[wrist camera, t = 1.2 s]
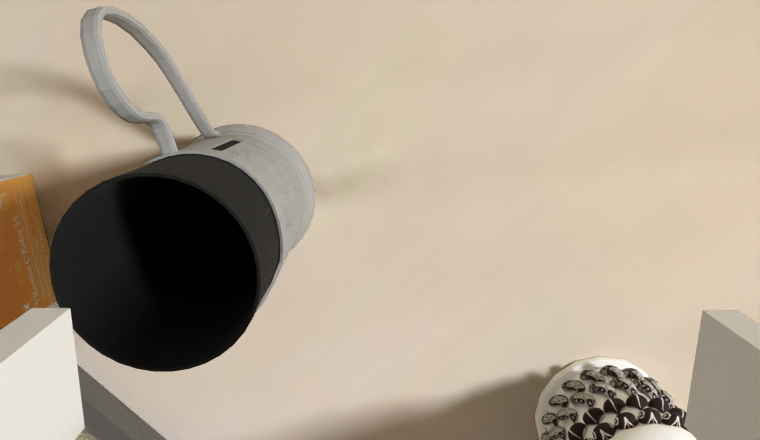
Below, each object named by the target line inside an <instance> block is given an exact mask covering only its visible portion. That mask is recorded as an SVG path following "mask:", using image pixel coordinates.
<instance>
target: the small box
mask: <svg viewBox="0 0 760 440" xmlns="http://www.w3.org/2000/svg"><path fill="white" fill-rule="evenodd" d="M49 263H50V249H49V245H48V241H47V238H46V233H45V229H44V225H43V220H42V216H41V212H40V208H39V203H38V199H37V194H36V190H35V186H34V181H33V176H32V174H31V173H23V174H14V175H4V176H0V330H1V329H3V328H4V327H6V326H7V325H9V324H10V323H11V322H13V321H14V320H16V319H17V318H19V317H20V316H21V315H23V314H24V313H26V312H27V311H29V310H30V309H31V308H46V307H48V306H49V305H50V304H52V303H54V302H55V301H56V298H55V294H54V291H53V288H52V285H51V277H50V269H49Z"/></svg>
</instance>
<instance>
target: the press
mask: <svg viewBox="0 0 760 440" xmlns="http://www.w3.org/2000/svg"><path fill="white" fill-rule="evenodd" d="M77 368H78V376H79V384H80V392H81V401H82V409H83V417H84V425H85V428H84V429H83V430H82V432H81V433H80V434H79V435H78V437H77V438H76V439H75V440H166V439H165V438H163V437H162V436H161V435H160V434H159V433H158V432H156V431H155V430H154V429H153V428H152V427H150V426H149V425H148V424H147V423H146V422H145V421H143V420H142V419H141V418H140V417H139V416H137V415H136V414H135V413H134V412H133V411H131V410H130V409H129V408H128V407H127V406H126V405H124V404H123V403H122V402H121V401H120V400H118V399H117V398H116V397H115V396H114V395H113V394H111V393H110V392H109V391H108V390H107V389H105V388H104V387H103V386H102V385H101V384H100V383H98V382H97V381H96V380H95V379H94V378H92V377H91V376H90V375H89V374H88V373H86V372H85V371H84V370H83V369H82V368H81V367H79V366H78V365H77Z"/></svg>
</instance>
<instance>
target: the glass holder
mask: <svg viewBox="0 0 760 440" xmlns="http://www.w3.org/2000/svg"><path fill="white" fill-rule="evenodd" d="M103 19H104V20H107V21H109V22H112V23H114V24H116V25H118V26H119V27H121V28H122V29H123V30H125V31H126V32H127V33H129V34H130V35H131V36H132V37H133V38H134V39H135V40H136V41H137V42H138V43H139V44H140V45H141V46H142V47H143V48H144V49H145V50H146V51H147V52H148V54H149V55H150V56H151V57H152V58H153V59H154V61H155V62H156V63H157V65H158V66H159V68H160V69H161V71H162V72H163V73H164V75H165V77H166V78H167V80H168V81H169V83H170V84H171V86H172V87H173V89H174V91H175V92H176V94H177V95H178V97H179V99H180V101H181V102H182V104H183V106H184V107H185V109H186V111H187V112H188V114H189V116H190V117H191V119H192V121H193V122H194V124H195V125H196V127H197V128H198V130H199V131H200V133H201V134H202V135H201V136H199V137H197V138H196V139H195V140H194V141H193V142H192V143H190V144H189V145H188V146H187V147H185V148H182V149H179V150H178V149H177V146H176V143H175V140H174V137H173V135H172V132H171V130H170V128H169V125H168V123H167V122H166V120H165V119H164V118H163V116H161V115H160V114H159V113H154V112H144V111H141V110H140V109H138V108H137V107H135V106H134V105H133V104H132V103H131V102H130V100H129V99H128V98H127V97H126V96H125V94H124V93H123V91H122V90H121V88H120V87H119V85H118V83H117V82H116V80H115V78H114V75H113V73H112V71H111V69H110V67H109V63H108V60H107V57H106V54H105V50H104V45H103V40H102V31H101V21H102V20H103ZM80 37H81V42H82V47H83V52H84V57H85V60H86V63H87V66H88V69H89V72H90V75H91V77H92V79H93V81H94V83H95V85H96V87H97V89H98V91H99V93H100V94H101V96H102V97H103V99H104V100H105V102H106V103H107V105H108V106H109V107H110V108H111V109H112V110H113V111H114V112H115V113H116V114H117V115H118V116H119V117H120V118H122V119H123V120H125V121H127V122H130V123H136V124H143V123H145V124H147V125H149V126H150V128H151V129H152V131H153V133H154V135H155V137H156V140H157V142H158V145H159V148H160V151H161V154H162V156H159V157H156V158H154V159H152V160H150V161H148V162H146V163H145V164H143V165H141V166H140V167H139V168H137V169H136V170H133V171H131V172H128V173H125V174H122V175H120V176H117V177H114V178H112V179H109V180H106V181H104V182H101V183H100V184H98V185H96V186H95V187H93V188H91V189H89V190H88V191H86V192H85V193H84V194H83V195H82V196H81V197H79V198H78V199H77V200H76V201H75V202H74V203H73V204H72V205H71V206H70V208H69V209H68V210H67V212H66V213H65V214H64V216H63V217H62V219H61V221H60V223H59V225H58V227H57V229H56V231H55V234H54V238H53V242H52V245H51V249H50V263H49V269H50V277H51V285H52V288H53V291H54V294H55V298H56V301H57V303H58V305H59V307H60V308H70V310H71V318H72V327H73V329H74V330H75V332H76V333H77V334H78V335H79V336H80V337H81V338H82V339H83V340H84V341H86V342H87V343H88V344H89V345H90V346H91V347H93V348H94V349H96V350H97V351H98V352H100V353H101V354H103V355H104V356H106V357H108V358H110V359H112V360H114V361H116V362H118V363H121V364H124V365H127V366H130V367H133V368H136V369H142V370H149V371H178V370H184V369H190V368H193V367H196V366H199V365H202V364H205V363H207V362H209V361H211V360H212V359H214V358H216V357H218V356H220V355H221V354H222V353H224V352H225V351H226V350H228V349H229V348H230V347H231V346H233V345H234V344H235V342H236V341H237V340H238V339H239V338H240V337H241V335H242V334H243V333H244V332H245V330H246V328H247V327H248V325H249V323H250V322H251V320H252V318H253V316H254V314H255V313H256V311H257V310H258V309H259V308H260V306H261V305H262V304H263V302H264V301H265V299H266V297H267V295H268V294H269V292H270V290H271V288H272V286H273V285H274V283H275V280H276V278H277V276H278V274H279V272H280V270H281V268H282V265H283V263H284V261H285V259H286V257H287V255H288V253H289V251H290V250H291V249H292V248H294V247H295V246H296V245H297V243H298V242H299V241H300V240H301V239H302V238H303V236H304V234H305V233H306V231H307V229H308V227H309V225H310V222H311V219H312V217H313V211H314V206H315V191H314V186H313V180H312V177H311V175H310V172H309V169H308V167H307V165H306V164H305V162H304V160H303V159H302V157H301V156H300V154H299V153H298V152H297V151H296V150H295V149H294V147H293V146H292V145H290V144H289V143H288V142H287V141H286V140H284V139H283V138H282V137H280V136H278V135H276V134H275V133H273V132H271V131H269V130H266V129H263V128H261V127H257V126H251V125H241V124H233V125H227V126H221V127H218V128H215V129H213V127H212V126H211V124H210V123H209V121H208V119H207V118H206V116H205V114H204V113H203V111H202V109H201V107H200V106H199V104H198V102H197V100H196V99H195V97H194V95H193V93H192V92H191V90H190V88H189V86H188V85H187V83H186V81H185V80H184V78H183V76H182V75H181V73H180V71H179V70H178V68H177V66H176V65H175V63H174V61H173V60H172V58H171V57H170V55H169V54H168V52H167V51H166V50H165V48H164V47H163V46H162V45H161V44H160V42H159V41H158V40H157V39H156V38H155V37H154V36H153V34H152V33H151V32H150V31H149V30H148V29H147V28H146V27H145V26H144V25H143V24H142V23H140V22H139V21H138V20H137V19H135V18H134V17H133V16H131V15H130V14H129V13H127V12H124V11H122V10H120V9H117V8H115V7H97V8H94V9H90V10H88V11H86V13H85V15H84V16H83V18H82V19H81V30H80Z"/></svg>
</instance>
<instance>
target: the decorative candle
mask: <svg viewBox="0 0 760 440" xmlns="http://www.w3.org/2000/svg"><path fill="white" fill-rule="evenodd" d="M534 417H535V422H536V427H537V432H538V437H539V439H540V440H697V439H696V438H695V437H694V436H693V435H692V434H691V433H690V432H689V431H688V429H687V428H686V427H685V426H684V425H685V419H686V412H685V411H684V410H682V409H680V408H678V407H677V406H675V405H674V404H673V399H672V397H671V396H670V395H669V394H668V393H667V392H665V391H663V390H660V386H659V384H658V383H657V382H656V381H655V380H653V379H651V378H649V377H648V375H647V374H646V373H645V372H644V371H643V370H641V369H640V368H638V367H636V366H635V365H633V364H631V363H630V362H628V361H626V360H624V359H619V358H612V357H605V356H597V357H592V358H588V359H584V360H579V361H575V362H574V363H572V364H570V365H569V366H567V367H566V368H564V369H563V370H561V371H560V372H558V373H557V374H555V375H554V376H553V377H552V379H551V380H550V381H549V383H548V384H547V385H546V387H545V388H544V389H543V391H542V392H541V394H540V396H539V400H538V404H537V408H536V412H535V416H534Z"/></svg>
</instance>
